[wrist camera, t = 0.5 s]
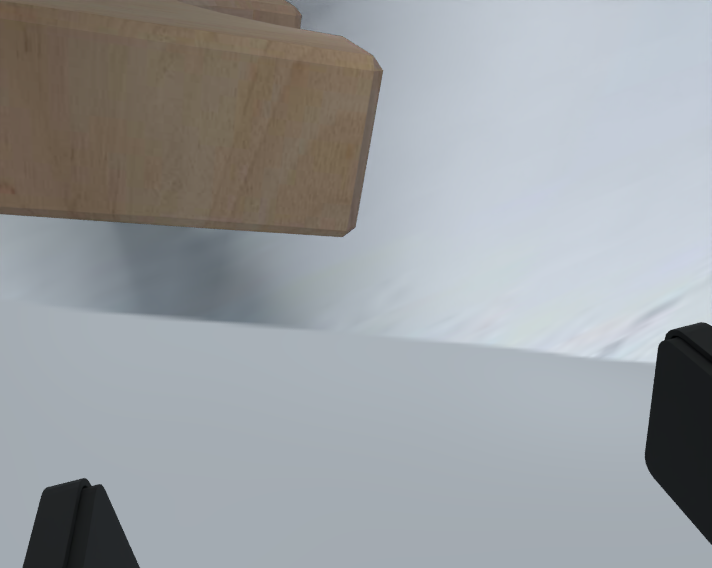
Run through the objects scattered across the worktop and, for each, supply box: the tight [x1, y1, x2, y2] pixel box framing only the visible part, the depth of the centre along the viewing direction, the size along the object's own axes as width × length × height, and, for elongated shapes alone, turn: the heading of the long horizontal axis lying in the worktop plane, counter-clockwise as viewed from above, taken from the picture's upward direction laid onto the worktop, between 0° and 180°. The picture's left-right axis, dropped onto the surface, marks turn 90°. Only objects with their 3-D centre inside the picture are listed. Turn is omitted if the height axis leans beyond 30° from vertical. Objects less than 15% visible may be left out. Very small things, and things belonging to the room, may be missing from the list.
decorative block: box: [0, 0, 383, 237], centre depth 26 cm, size 11×6×20 cm, turn 79°
